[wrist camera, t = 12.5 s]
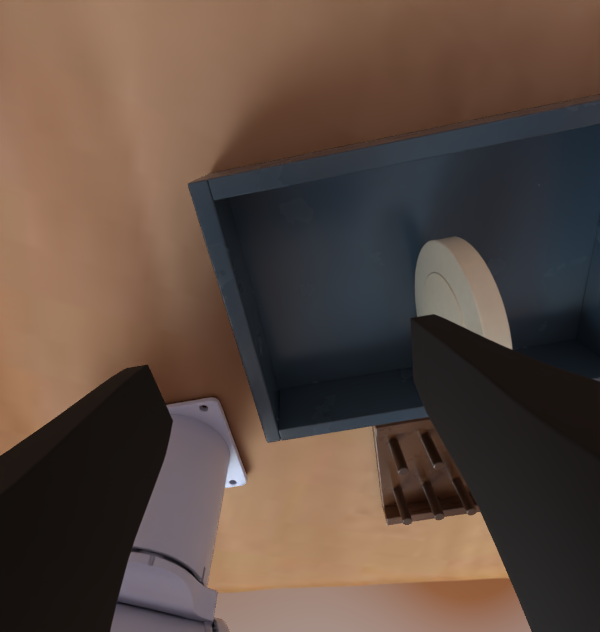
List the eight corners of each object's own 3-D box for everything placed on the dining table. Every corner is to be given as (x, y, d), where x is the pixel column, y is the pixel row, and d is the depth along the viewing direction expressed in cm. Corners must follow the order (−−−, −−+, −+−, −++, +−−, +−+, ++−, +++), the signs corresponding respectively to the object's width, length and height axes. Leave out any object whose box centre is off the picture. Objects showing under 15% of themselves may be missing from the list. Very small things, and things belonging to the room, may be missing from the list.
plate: (410, 327, 22) (466, 454, 16) (417, 206, 16) (507, 333, 10) (426, 324, 22) (489, 450, 16) (439, 202, 16) (542, 327, 10)
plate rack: (382, 506, 28) (392, 545, 26) (370, 410, 24) (381, 446, 21) (496, 489, 28) (519, 527, 25) (506, 388, 24) (535, 422, 21)
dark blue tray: (270, 395, 23) (266, 443, 19) (208, 173, 17) (186, 183, 13) (579, 342, 22) (637, 383, 18) (630, 87, 16) (731, 73, 12)
